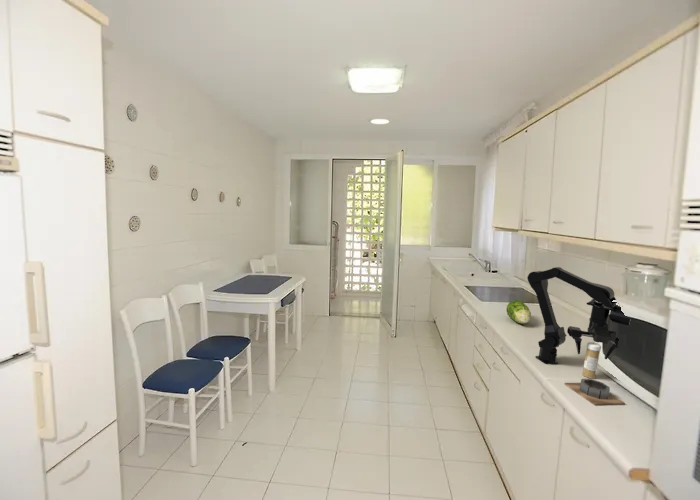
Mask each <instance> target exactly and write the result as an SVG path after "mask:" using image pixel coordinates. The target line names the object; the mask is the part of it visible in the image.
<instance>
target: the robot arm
mask: <svg viewBox="0 0 700 500" xmlns="http://www.w3.org/2000/svg"><path fill="white" fill-rule="evenodd" d="M554 278H556V279H559V280H561V281H563V282H565V283H567V284H569V285H571V286H573V287H575V288H577V289H579V290H581V291H583V292H585V294H586V295H587V296H588V297H590V298H591V300H590V301H588V302H586V305H587V306H591V311H590V317H589V319H588V320H589V323H588V327H587V331H585V330H582V329H581V328H580V327H578V326H572V325H571V326H568V327H567V330H566V331H565V327H564V326H560V325H559V324H558V322H557V319H556V315H555V312H554V308H553V306H552V302H551V299H550V295H549V292H548V287H549V280H550V279H551V280H552V279H554ZM526 279H527V282H528V284H529V285H530V288H531V289H532V290H533V291H534V293H535V296H536V298H537V301H538V306H539V309H540V312H541V316H542V319H543V323H544V333H543V334H544V339H541V340H539V341H538V344H537V345H538V347H539V351H538V355H535V358H536V359H537V360H539V361H540V362H542V363H543V364H548V365H551V364H552V365H554V364H557V365H558V364H559V362H558V361H557V355H558V354H557V353H558V349H557V348H558V347H560V346H561V345H562V344H564V343H565V342H566V338H567V334H568V336H569V337H571V339H573V340H574V342H575V348H576V351H577V354H578V355H580V354H581V345H582V341H583V340H582V337H588V338H592V339H593V342H594V343H595V342H596V343H601V344H605V345H607V344H608V342H609V341H611V342H612V343H611V342H610V343H609V345H608V347H607V346H606V347H607V349H606V348H605V352H604V360H608V358H609V357H610V356H611V354H612V353H613V352H614V350H615V349H617V348H619V347H618V346H617V345H618V341H619V339H618V337H616V334H617V332H616V331H612V330H609V329H608V328H609V324H608V322H609V320H610V321H611V322H612V323H614V324H618V325H622V326H625V327H629V325H630V321H631V319H630V318H629V317H627V316H625V315H624V313H623V312H622V311H621V307H620V306H621V305H619V306H618V305H616V303H617V302H618V301H617V302H612V301H613V300H617V298H616V297H615V292H614V290H613V288H611V287H610V286H606V285H603V284H601V283H600V284H599V283H595V282H591V281H589V280H587V279H585V278H582V277H580V276H578V275H576V274H574V273H572V272H570V271H568V270H566V269H564V268H562V267H560V266H556V267H552V268H550V269H546V270H536V271H531V272H529V274H528V275H527V277H526ZM566 332H567V333H566ZM615 344H616V345H615Z"/></svg>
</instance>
